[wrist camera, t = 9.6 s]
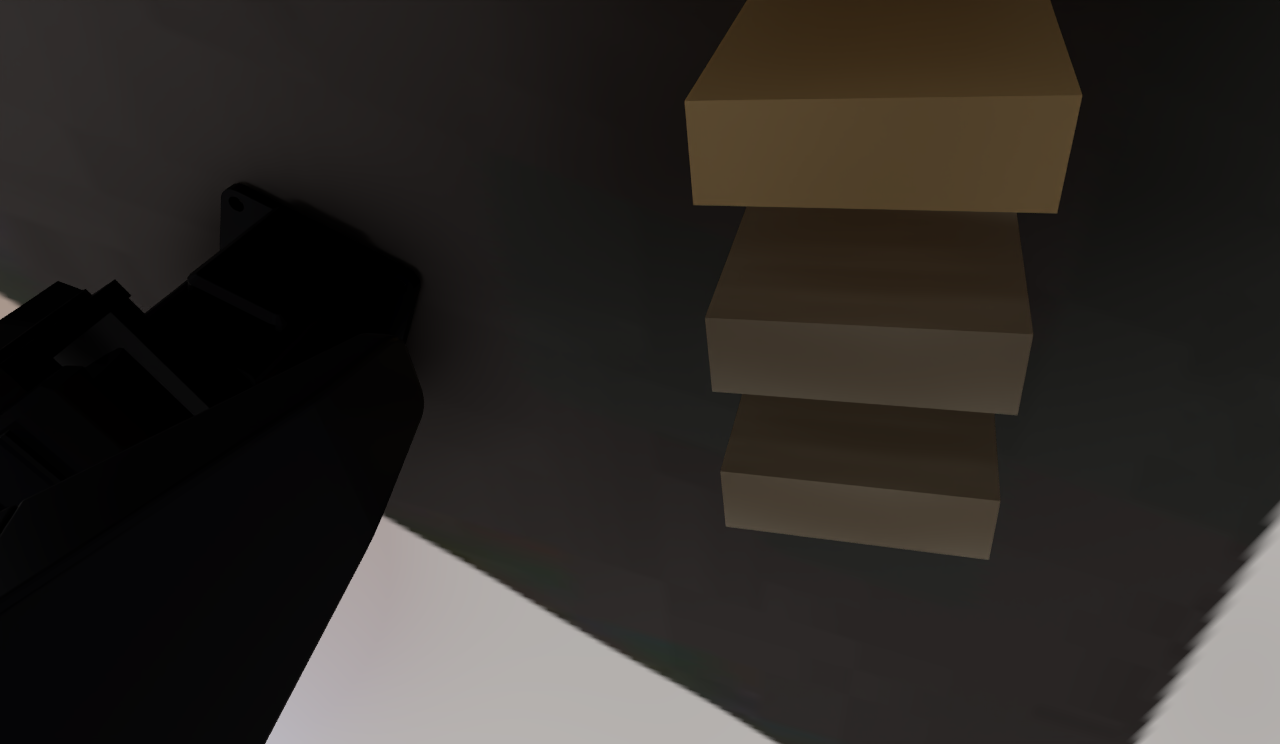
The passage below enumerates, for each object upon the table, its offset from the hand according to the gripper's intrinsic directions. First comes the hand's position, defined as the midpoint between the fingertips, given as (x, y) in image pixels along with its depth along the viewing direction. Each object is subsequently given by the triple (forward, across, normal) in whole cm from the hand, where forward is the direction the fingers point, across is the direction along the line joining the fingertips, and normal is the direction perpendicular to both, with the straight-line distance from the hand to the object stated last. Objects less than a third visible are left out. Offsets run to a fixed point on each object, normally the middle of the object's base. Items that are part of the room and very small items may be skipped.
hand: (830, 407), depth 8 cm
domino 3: (+13, 0, +7) cm, 15 cm away
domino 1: (+13, 0, 0) cm, 13 cm away
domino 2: (+13, 0, +3) cm, 13 cm away
